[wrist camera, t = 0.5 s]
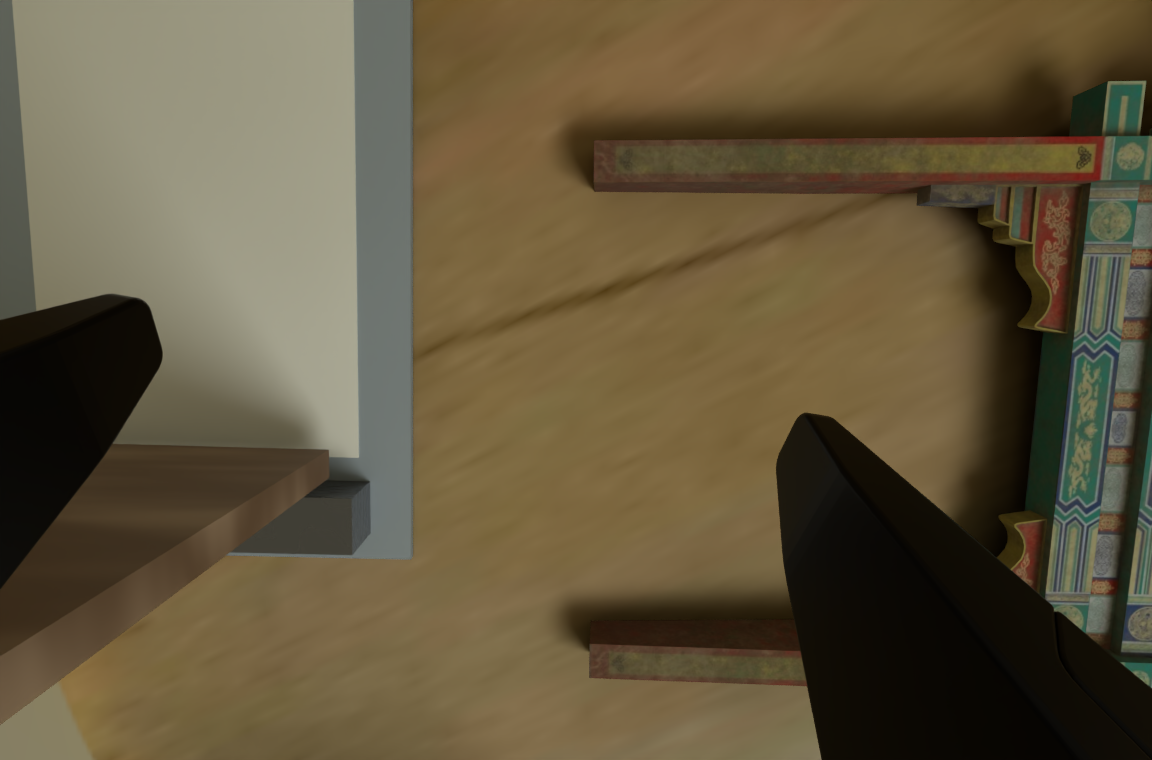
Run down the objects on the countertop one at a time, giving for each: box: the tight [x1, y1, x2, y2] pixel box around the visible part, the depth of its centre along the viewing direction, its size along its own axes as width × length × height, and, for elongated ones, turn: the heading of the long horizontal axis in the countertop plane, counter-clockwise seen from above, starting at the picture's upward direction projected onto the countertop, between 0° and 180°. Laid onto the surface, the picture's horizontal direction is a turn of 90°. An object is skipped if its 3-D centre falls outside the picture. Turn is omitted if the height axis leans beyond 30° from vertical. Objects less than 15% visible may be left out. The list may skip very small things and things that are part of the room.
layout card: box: [0, 0, 413, 559], centre depth 21 cm, size 22×15×1 cm
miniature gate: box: [589, 81, 1152, 688], centre depth 21 cm, size 27×6×30 cm
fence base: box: [231, 480, 371, 555], centre depth 21 cm, size 2×12×2 cm, turn 88°
